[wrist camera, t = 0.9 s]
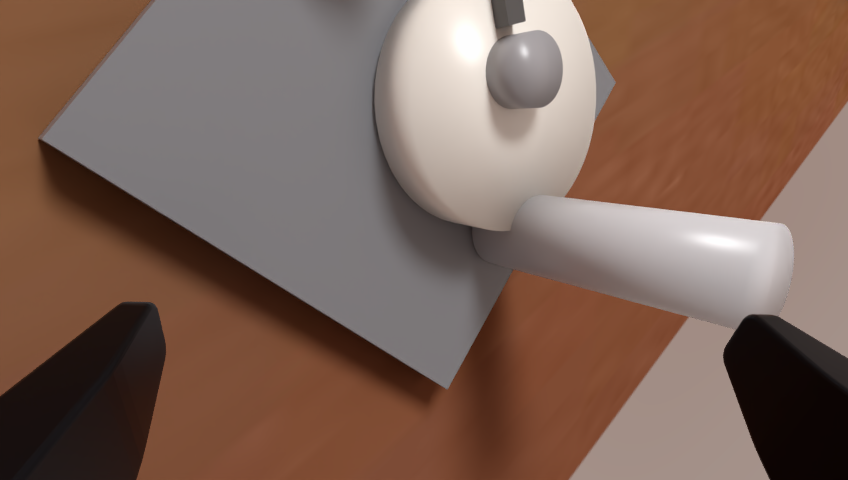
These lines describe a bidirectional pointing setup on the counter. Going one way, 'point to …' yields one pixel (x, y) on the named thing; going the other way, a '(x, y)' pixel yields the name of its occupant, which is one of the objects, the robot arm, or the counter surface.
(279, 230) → the stand
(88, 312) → the counter surface
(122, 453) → the robot arm
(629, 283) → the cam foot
